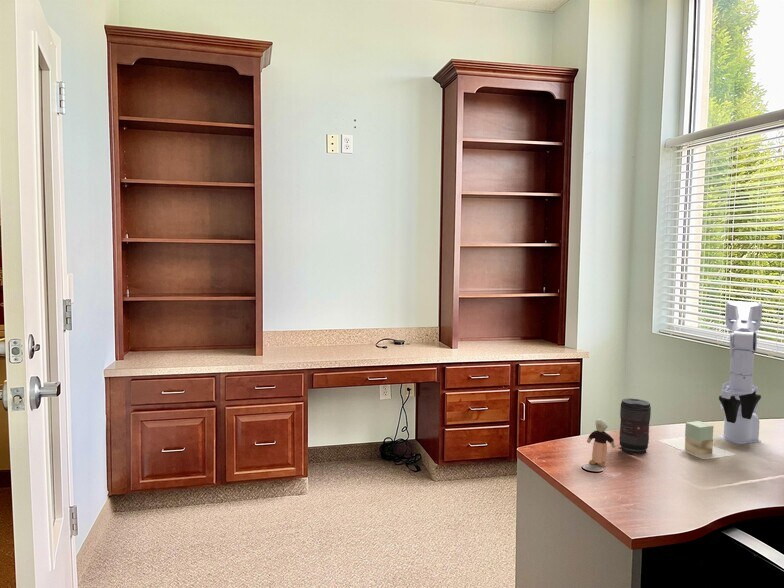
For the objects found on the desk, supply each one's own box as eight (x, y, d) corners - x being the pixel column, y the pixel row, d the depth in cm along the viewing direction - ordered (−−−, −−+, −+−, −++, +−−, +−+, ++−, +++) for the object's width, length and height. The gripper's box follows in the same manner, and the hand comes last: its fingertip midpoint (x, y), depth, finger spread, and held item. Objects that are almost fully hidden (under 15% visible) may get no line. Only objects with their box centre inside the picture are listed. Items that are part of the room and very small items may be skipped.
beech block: (697, 447, 169) (698, 434, 169) (712, 453, 165) (713, 439, 164) (684, 449, 168) (685, 436, 168) (698, 455, 163) (699, 441, 163)
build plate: (687, 438, 180) (687, 436, 180) (735, 456, 164) (735, 454, 164) (657, 442, 176) (657, 440, 176) (703, 461, 160) (703, 459, 160)
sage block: (698, 434, 169) (698, 421, 169) (712, 439, 165) (713, 425, 164) (685, 435, 168) (685, 422, 167) (699, 441, 163) (700, 427, 163)
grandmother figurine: (584, 463, 157) (585, 418, 156) (586, 459, 161) (588, 415, 160) (614, 469, 154) (615, 422, 153) (615, 464, 157) (617, 419, 156)
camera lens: (652, 457, 163) (654, 405, 162) (622, 455, 164) (624, 404, 163) (644, 447, 171) (646, 398, 170) (616, 446, 172) (617, 397, 171)
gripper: (741, 368, 170) (739, 413, 171) (712, 373, 163) (709, 420, 164) (766, 373, 164) (764, 419, 165) (737, 378, 157) (734, 426, 158)
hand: (738, 420), depth 164 cm, fingers open, 7 cm apart
